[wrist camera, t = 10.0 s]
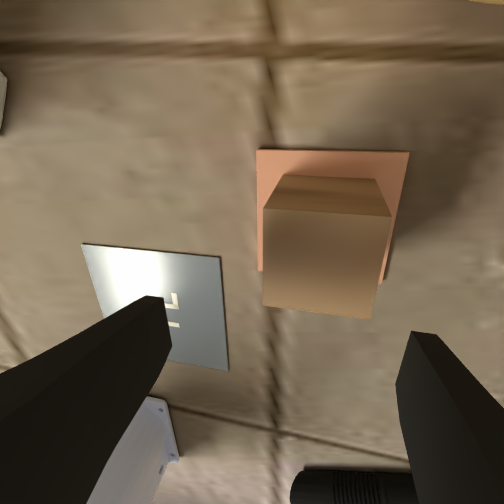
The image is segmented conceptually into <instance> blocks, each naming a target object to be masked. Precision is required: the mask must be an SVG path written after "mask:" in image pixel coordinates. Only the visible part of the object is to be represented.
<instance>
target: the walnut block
mask: <svg viewBox="0 0 504 504" xmlns="http://www.w3.org/2000/svg"><path fill="white" fill-rule="evenodd" d="M391 222H392V215H391V213H390V211H389V208H388V206H387V204H386V202H385V200H384V197H383V195H382V193H381V191H380V188H379V186H378V184H377V182H376V180H375V179H368V178H346V177H323V176H301V175H282V177H281V178H280V180H279V182H278V184H277V185H276V187H275V189H274V190H273V192H272V194H271V195H270V197H269V199H268V201H267V202H266V204H265V206H264V207H263V305H264V306H272V307H279V308H286V309H294V310H301V311H308V312H316V313H323V314H330V315H338V316H345V317H353V318H360V319H367V320H370V318H371V314H372V309H373V305H374V300H375V295H376V291H377V286H378V282H379V277H380V272H381V268H382V263H383V259H384V254H385V249H386V245H387V240H388V235H389V231H390V226H391Z"/></svg>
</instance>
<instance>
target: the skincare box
mask: <svg viewBox="0 0 504 504" xmlns="http://www.w3.org/2000/svg"><path fill="white" fill-rule="evenodd" d="M6 88H7V78H6V77H5V76H4V75H3V74H2V72H1V71H0V129H1V124H2V119H3V111H4V105H5V98H6Z"/></svg>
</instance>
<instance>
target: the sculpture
mask: <svg viewBox="0 0 504 504" xmlns="http://www.w3.org/2000/svg"><path fill="white" fill-rule="evenodd" d="M470 1H475V2H481V3H489V4H502V5H504V0H470Z"/></svg>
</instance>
